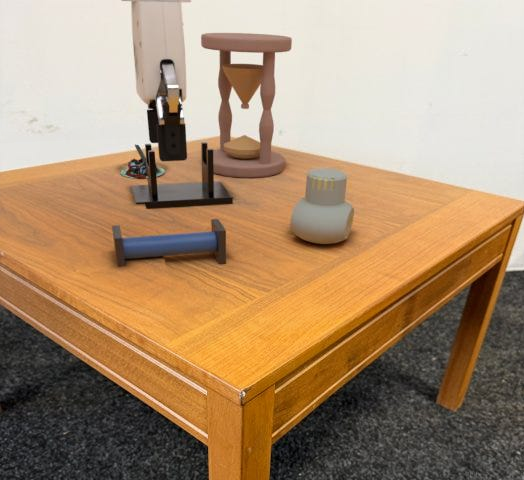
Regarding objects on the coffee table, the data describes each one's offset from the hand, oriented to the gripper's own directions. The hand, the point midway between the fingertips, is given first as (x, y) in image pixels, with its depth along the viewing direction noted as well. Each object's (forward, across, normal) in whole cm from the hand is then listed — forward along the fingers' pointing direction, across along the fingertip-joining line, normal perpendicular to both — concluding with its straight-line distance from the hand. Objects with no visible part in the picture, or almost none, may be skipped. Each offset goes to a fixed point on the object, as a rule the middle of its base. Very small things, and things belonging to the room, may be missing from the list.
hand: (167, 150), depth 68 cm
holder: (+15, -28, +5) cm, 32 cm away
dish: (+15, -46, 0) cm, 48 cm away
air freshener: (+15, -4, +23) cm, 28 cm away
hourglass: (+15, -47, +22) cm, 54 cm away
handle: (+15, 0, -1) cm, 15 cm away
